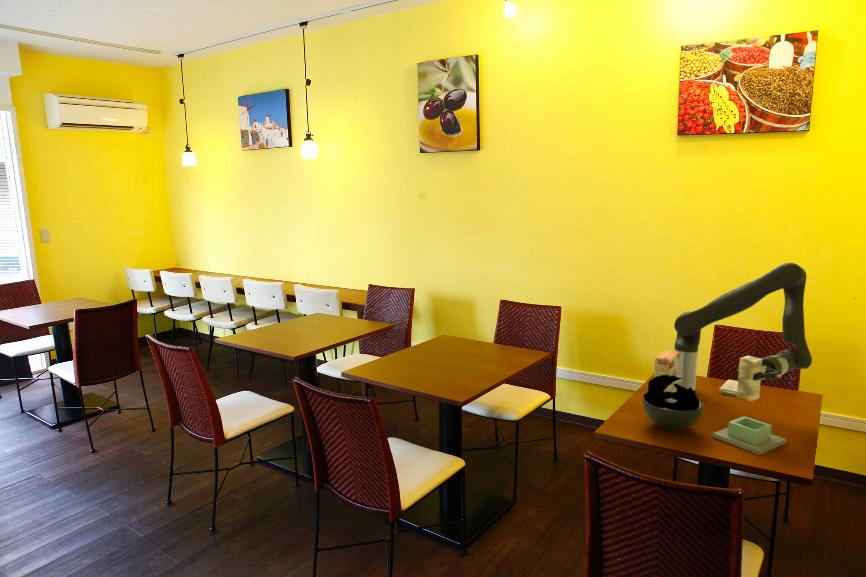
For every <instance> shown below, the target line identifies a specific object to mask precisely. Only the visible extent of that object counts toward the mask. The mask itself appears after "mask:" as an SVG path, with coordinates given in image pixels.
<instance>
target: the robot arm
mask: <svg viewBox="0 0 866 577" xmlns="http://www.w3.org/2000/svg"><path fill="white" fill-rule="evenodd" d="M807 277H808V276H807V272H806V271H805V269H804V268H803V267H802V266H800V265H798V264H797V263H794V262H786V263H785V262H784V263H782V264H780V265H778V266H776V267H775V268H774V269H772V270H770V271H769V272H767V273H765V274H763V275H762V276H760V277H758V278H756V279H754V280H752V281H749V282H746V283H745V284H742V285H739V286H738V287H736V288H734V289H731V290H729V291H726V292H725V293H723V294H721V295H719V296H717V297H716V298H715V299H713V300H711V301H710V302H708V303H707V304H706V305H704V306H702V307H700V308H698V309H695V310H693V311H686V312H683V313H681V314H680V315H678V316H677V317H676V319H675V321H674V323H673V324H674V326H673V327H674V330H675V332H676V338H675V342H674V348H673V349H674V351H675V352H679V353H680V355H679V366H678V377H679V378H682V379H679V380H677V384H679V385H680V386H682V387H685V388H686V389H689V388H692V389H693V391H694V392H695V390H696V382H697V368H698V355H699V346H700V343H701V331H702V329H704V328H705V327H707V326H709V325H711V324H714V323H716V322H719V321H721V320H725V319H727V318H729V317H733V316H734V315H738V314H740V313H742V312H744V311H746V310H748V309H750V308H751V307H753V306H755V305H756V304H758V303H759V302H760V301H761V300H762V299H764V298H765V297H767V296H768V295H770V294H772V293H774V292H777V291H780V290H783V293H784V309H783V315H782V340H783V342H785V343H786V344H792V345H795V348H796V349H784V350H780V351H779V352H778V353H777V354H774V355H769V356H765V357H763V358H760V359H763V360H762V371H761V373H760V372H758V373H755V374H753V380H755V381H756V380H759V379H761V381H762V380H765V381H769V382H770V381H776V380H781V379H782V375H784V374H786V373H789V372H791V371H792V370H796V369H797V370H799V369H800V370H801V369H802V370H804V369H805V370H807V369H808V368H810V366H811V365H812V362H813V357H812V354H811V352H810V349H809V346H808V343H807V339H806V332H805V331H806V329H805V315H804V314H805V313H804V303H805V302H804V300H805V289H806V282H807ZM736 368H737V369H736V371H735V372H736V373H735V375H736V376H737V377H738V376H739V364H738V365H737V367H736ZM676 391H677V389H676Z"/></svg>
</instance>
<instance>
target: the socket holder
mask: <svg viewBox="0 0 866 577" xmlns="http://www.w3.org/2000/svg"><path fill="white" fill-rule="evenodd" d="M772 427H773V425H772V424H769V423H766V422H763V421H759V420H757V419H754V418H751V417H748V416H741V417H738V418H735V419H733V420H731V421H729V422H728V427H726V428H723V429H721V430H718V431H716V432H712V438H714V439H715V440H716V439H717V440H719V441H721V442H724V443H727V444H730V445H732V446H734V447H738V448H739V449H742V450H745V451H747V452H751V453H753V454H756V455H758V456H760V455H763V454H765V453H767V452H769V451H771V450H774V449H776V448H778V447H780V446H783V445H785V444H786V442H787V438H783V437H780V436H778V435H775V434H772Z"/></svg>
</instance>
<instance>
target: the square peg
mask: <svg viewBox="0 0 866 577" xmlns="http://www.w3.org/2000/svg"><path fill="white" fill-rule="evenodd" d="M762 360H763V359H761V358H759V357H756V356H751V355H746V356H743V357H740V358H739V364H738V365H739V376H737V377H738V378H737V381H738V388H737V397H736V398H738V399H743V400H745V401H749V402H754V401H756V400H758V399H760V393H761V392H760V391H761V382H762V379H759V380H756V381H755V380H753V374H755V373H758V372H760V373H761V371H762Z"/></svg>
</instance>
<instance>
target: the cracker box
mask: <svg viewBox="0 0 866 577" xmlns="http://www.w3.org/2000/svg"><path fill="white" fill-rule="evenodd" d="M679 355H680V353H679V352H675V351H673V350H667V349H665V350H664V351H663V352H661V353H660V354H659V355H657V356H656V357H655V360H654V372H653V373H654V375H653V378H654V377H656V376H658V377H659V376H660V375H669V376H672V375H674V376H676V377H678V366H679ZM673 384H677V381H674V382H672V383H671V384H670V385H669V386H668V387H667V388H666V389H665V390H664V392H677V390H676V388H675V387H674V385H673Z"/></svg>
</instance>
